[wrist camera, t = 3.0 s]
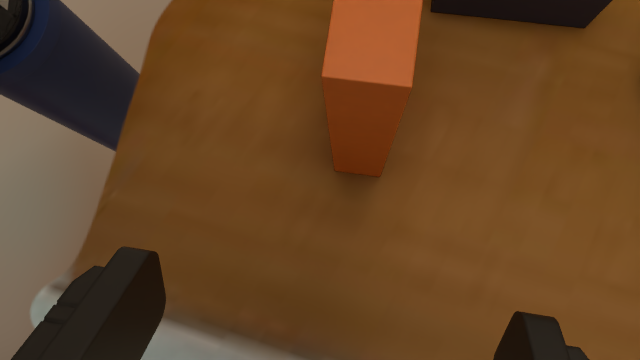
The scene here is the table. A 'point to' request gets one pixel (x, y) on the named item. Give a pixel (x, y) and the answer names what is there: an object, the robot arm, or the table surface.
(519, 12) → the box stack
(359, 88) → the orange box
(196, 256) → the table surface
